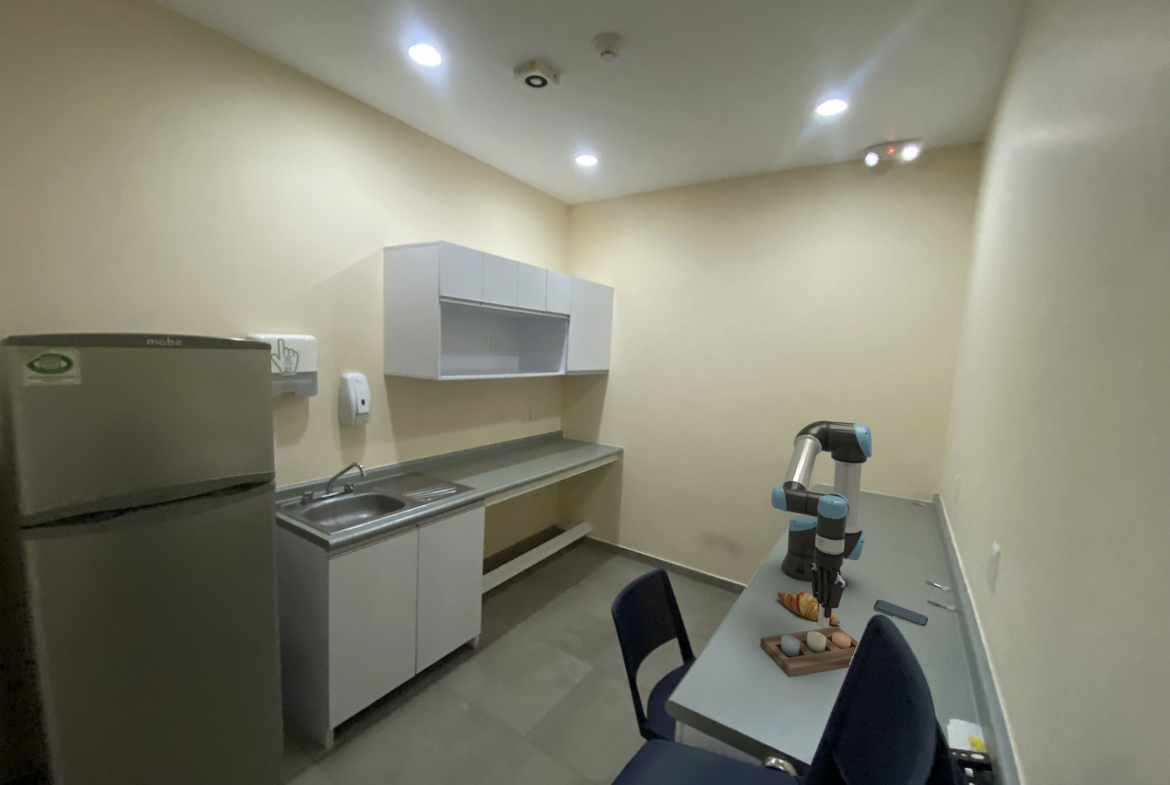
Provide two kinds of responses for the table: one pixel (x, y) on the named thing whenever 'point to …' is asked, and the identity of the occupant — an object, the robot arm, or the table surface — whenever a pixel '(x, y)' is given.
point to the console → (810, 653)
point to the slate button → (790, 645)
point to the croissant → (804, 605)
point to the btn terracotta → (841, 640)
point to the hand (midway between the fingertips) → (823, 625)
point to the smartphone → (900, 612)
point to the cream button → (816, 641)
